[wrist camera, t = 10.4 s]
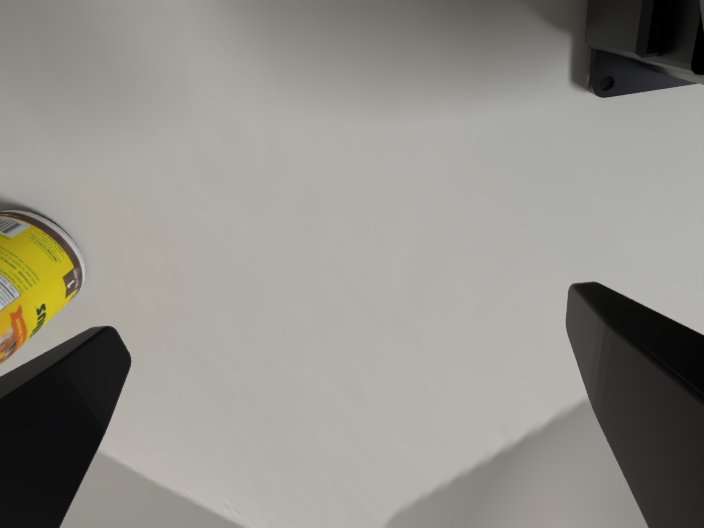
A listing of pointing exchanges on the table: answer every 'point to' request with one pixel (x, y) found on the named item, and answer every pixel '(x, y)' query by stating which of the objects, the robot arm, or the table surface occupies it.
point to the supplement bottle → (33, 276)
